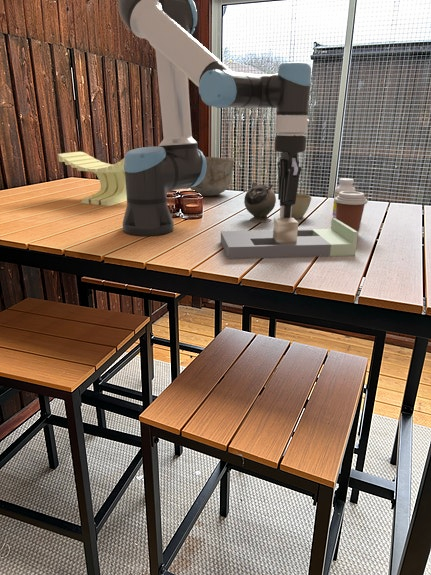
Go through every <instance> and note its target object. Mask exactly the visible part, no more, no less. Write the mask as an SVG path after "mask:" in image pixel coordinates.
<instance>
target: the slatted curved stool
mask: <svg viewBox="0 0 431 575" xmlns="http://www.w3.org/2000/svg"><path fill="white" fill-rule="evenodd" d="M57 157H58V162H59V163H63V162H64V164H65V166H69V165H70V167H71V168H73V169H74V168H75V169H76V170H77V172H92V173H93V174H95V175H96V177H97V179H98V180H99V183H100V189H99V191H97V192H96V193H94V194H92V195H89V196H86V197H83V198H82V200H81V202H80V203H81V204H87V205H89V204H90V205H97V206H104V207H106V206H107V207H110V206H113V205H118V204H119V203H124V202H127V194H126V180H125V170H124V158H122V159H121V160H119V161H117V162H116V163H114V164H113V163H112V164H111V163H107V162H103V161H101V160H100V159H98V158H95V157H94V156H91V155H89V154H88V153H86V152H84V151H74V152H63V153H57Z"/></svg>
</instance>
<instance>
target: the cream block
mask: <svg viewBox="0 0 431 575" xmlns="http://www.w3.org/2000/svg"><path fill="white" fill-rule="evenodd" d="M272 230H273V238H274V239H275V240H276V242H297V232H298V230H299V222H298V220H296V219H294V218H280V217H274V218H273V229H272Z"/></svg>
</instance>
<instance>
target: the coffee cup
mask: <svg viewBox="0 0 431 575" xmlns="http://www.w3.org/2000/svg"><path fill="white" fill-rule="evenodd" d="M334 201H335V202H336V219H338V220H339V221H341V222H343V223H344V224H346V225H347V226H349V227H351V228H352V229H354V230H356V231H357V232H358V233H360V228H361V224H362V223H361V222H362V218H363V213H364V209H365V206H366V204H368V202H369V201H368V199H367V198H366V197H365V193H364V192H361V191H341V192H339V195H338V196H337V197H336V198H335V199H334V198H333V202H334Z"/></svg>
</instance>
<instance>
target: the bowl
mask: <svg viewBox="0 0 431 575" xmlns="http://www.w3.org/2000/svg"><path fill="white" fill-rule="evenodd" d="M205 158H206V163H207V169H206V174H205V177H204V179H203V180H202V181H201V183H200V184H198V185H197V186H194V187H190V188H189V189H190V190H191V191H193V190H195V191H197V192H199V193H200V194H202V195H201V196H203V197H204V196H205V197H212V196H216V195H220V194H222V193H224V192H225V191H226V190H227V189H228V188H229V187H230V185H231V182H232V179H233V169H234V164H235V158H225V157H215V156H205ZM200 194H199V195H200Z"/></svg>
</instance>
